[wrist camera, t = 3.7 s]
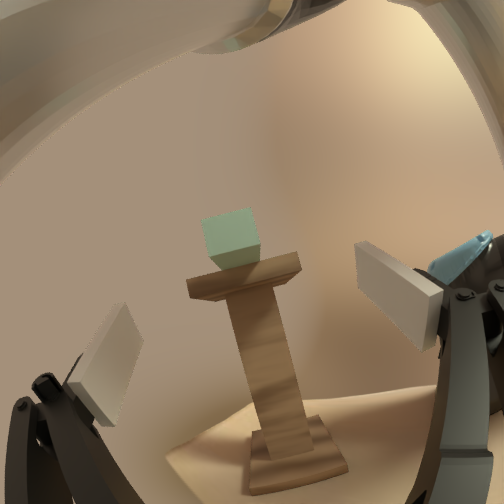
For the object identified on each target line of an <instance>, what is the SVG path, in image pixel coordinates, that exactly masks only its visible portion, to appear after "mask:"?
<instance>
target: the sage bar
mask: <svg viewBox="0 0 504 504" xmlns="http://www.w3.org/2000/svg"><path fill="white" fill-rule="evenodd" d="M201 223H202V228H203V232H204V236H205V241H206V246H207V250H208V254H209V257H210V258H211V259H212V260H213V262H215V264H216V265H217V266H218V267H219V268H220V269H221V270H226V269H230V268H234V267H238V266H242V265H246V264H250V263H254V262H258V261H260V240H259V236H258V233H257V229H256V225H255V222H254V218H253V215H252V211H251V208H246V209H242V210H238V211H234V212H230V213H226V214H222V215H218V216H215V217H211V218H207V219H203V220H201Z"/></svg>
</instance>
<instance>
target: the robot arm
mask: <svg viewBox="0 0 504 504" xmlns="http://www.w3.org/2000/svg"><path fill="white" fill-rule="evenodd" d="M344 1H346V0H0V186H1V185H2V184H3V182H5V181H6V179H7V178H8V177H9V176H10V175H11V174H12V173H13V172H14V171H15V170H16V169H17V168H18V167H19V166H20V165H21V164H22V163H23V162H24V161H25V160H26V159H27V158H28V157H29V156H30V155H31V154H32V153H33V152H35V150H37V148H39V147H40V146H41V145H42V144H43V143H44V142H46V141H47V140H48V139H49V138H50V137H52V136H53V135H54V134H55V133H56V132H57V131H59V130H60V129H61V128H63V127H64V126H65V125H66V124H68V123H69V122H70V121H72V120H73V119H74V118H75V117H77V116H78V115H80V114H81V113H82V112H84V111H85V110H86V109H88V108H89V107H91V106H92V105H94V104H95V103H97V102H98V101H99V100H101V99H103V98H104V97H106V96H107V95H109V94H110V93H112V92H114V91H115V90H117V89H118V88H120V87H122V86H123V85H125V84H127V83H129V82H130V81H132V80H134V79H135V78H137V77H139V76H141V75H143V74H145V73H147V72H149V71H150V70H152V69H154V68H156V67H158V66H160V65H162V64H164V63H167V62H169V61H171V60H173V59H175V58H177V57H180V56H182V55H184V54H187V53H189V52H195V53H201V54H223V53H229V52H233V51H237V50H241V49H243V48H246V47H248V46H251V45H253V44H255V43H258V42H260V41H263V40H265V39H267V38H269V37H271V36H274V35H276V34H278V33H280V32H283V31H285V30H287V29H290V28H292V27H294V26H296V25H299V24H301V23H303V22H305V21H307V20H310V19H312V18H314V17H316V16H318V15H320V14H322V13H324V12H326V11H328V10H330V9H332V8H334V7H336V6H338V5H339V4H341V3H342V2H344ZM387 1H389V2H393V3H397V4H401V5H404V6H408V7H411V8H413V9H414V10H416V11H417V12H418V13H419V14H420V15H421V16H422V17H423V19H424V20H425V21H426V22H427V23H428V25H429V26H430V28H431V29H432V30H433V31H434V33H435V34H436V35H437V37H438V38H439V40H440V41H441V42H442V44H443V45H444V47H445V48H446V50H447V51H448V53H449V54H450V56H451V57H452V59H453V60H454V62H455V63H456V65H457V67H458V68H459V70H460V72H461V73H462V75H463V77H464V79H465V80H466V82H467V84H468V86H469V88H470V89H471V91H472V93H473V95H474V97H475V99H476V101H477V103H478V105H479V107H480V109H481V111H482V114H483V116H484V118H485V120H486V122H487V125H488V127H489V130H490V132H491V134H492V137H493V140H494V142H495V145H496V148H497V150H498V153H499V156H500V159H501V162H502V165H503V168H504V0H387ZM492 238H493V234H492V233H491V232H490V231H489V230H486V231H485V232H483V233H481V234H480V235H478V236H476V237H475V238H473V239H471V240H469V241H468V242H466V243H464V244H463V245H461V246H459V247H457V248H455V249H454V250H452V251H450V252H448V253H446V254H445V255H443V256H441V257H439V258H437V259H435V260H434V261H432V262H431V263H430V265H429V267H428V270H427V272H425V271H423V270H420V269H416V268H415V269H411V268H410V267H408V266H406V265H405V264H403V263H401V262H400V261H398V260H397V259H395V258H394V257H392V256H390V255H389V254H387V253H385V252H384V251H382V250H381V249H379V248H377V247H376V246H374V245H372V244H370V243H369V242H367V241H364V242H360V243H356V244H354V247H355V257H356V269H357V282H358V288H359V289H360V290H361V291H362V292H363V293H364V294H365V295H366V296H367V297H368V298H369V299H370V300H371V301H372V302H373V303H374V304H375V305H376V306H377V307H378V308H379V309H380V310H381V311H382V312H383V313H384V314H385V315H386V316H387V317H388V318H389V319H390V320H391V321H392V322H393V323H394V324H395V325H396V326H397V327H398V328H399V329H400V330H401V331H402V332H403V333H404V334H405V336H406V337H408V339H409V340H410V341H411V342H412V343H413V344H414V345H415V346H416V347H417V348H418V349H419V350H420V351H421V352H424V351H426V350H428V349H430V348H432V347H433V346H435V343H436V338H437V335H439V337H440V345H441V348H440V353H439V357H438V359H440V367H439V377H438V383H437V387H436V392H435V405H434V410H433V416H432V421H431V426H430V431H429V435H428V439H427V443H426V447H425V451H424V455H423V458H422V462H421V465H420V469H419V472H418V475H417V478H416V481H415V484H414V486H413V488H412V490H411V492H410V494H409V496H408V498H407V500H406V502H405V504H486V500H487V496H488V491H489V486H490V481H491V475H492V469H493V454H492V452H490V451H488V450H487V442H488V429H489V415H490V414H493V413H495V412H497V411H498V410H500V409H502V411H503V415H504V234H503V235H501V236H499V237H496V238H494V239H492ZM142 345H143V339H142V337H141V335H140V333H139V331H138V329H137V327H136V325H135V322H134V320H133V318H132V316H131V314H130V312H129V310H128V307H127V305H126V303H125V302H124V303H119V304H115V305H114V306H113V307H112V309H111V310H110V312H109V313H108V315H107V316H106V318H105V320H104V321H103V323H102V324H101V326H100V327H99V329H98V330H97V332H96V334H95V335H94V337H93V338H92V340H91V342H90V343H89V345H88V347H87V348H86V350H85V352H84V353H83V354H82V355H81V356H79V357H78V359H77V360H76V362H75V364H74V366H73V367H72V369H71V372H69V374H68V376H67V378H66V380H65V381H64V383H63V385H62V386H61V385H60V383H59V382H58V381H57V379H56V378H55V376H54V375H53V373H50V372H49V373H45V374H42V375H40V376H39V377H38V378H37V379H36V380H35V381H34V382H33V384H32V390H33V391H34V393H35V394H36V395H37V396H38V398H39V399H40V400H41V401H42V402H41V403H38V404H35V403H34V402H33V401H32V400H31V398H30V397H27V396H26V397H23V398H20V399H19V400H17V402H16V403H15V405H14V407H13V411H12V416H11V422H10V428H9V435H8V442H7V453H6V464H5V504H73V499H74V501H75V503H76V504H145V503H144V502H143V501H142V499H140V497H139V496H138V494H137V493H136V491H135V490H134V489H133V487H132V486H131V485H130V483H129V482H128V480H127V479H126V477H125V476H124V474H123V473H122V471H121V470H120V468H119V467H118V465H117V463H116V462H115V460H114V459H113V457H112V456H111V454H110V452H109V450H108V449H107V447H106V445H105V443H104V442H103V440H102V438H101V436H100V434H99V432H98V431H97V429H96V428H95V427H94V425H93V424H92V423H93V421H94V418H95V419H96V420H97V421H98V423H99V424H100V425H101V426H109V427H115V426H116V423H117V419H118V416H119V413H120V410H121V406H122V403H123V400H124V397H125V394H126V391H127V387H128V385H129V382H130V378H131V376H132V373H133V370H134V367H135V364H136V361H137V359H138V356H139V353H140V350H141V347H142ZM36 438H37V439H38V440H39V441H40V445H39V444H38V442H37V440H36ZM72 497H73V499H72Z"/></svg>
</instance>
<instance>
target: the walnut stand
mask: <svg viewBox="0 0 504 504" xmlns="http://www.w3.org/2000/svg"><path fill="white" fill-rule="evenodd" d="M301 270H302V268H301V264H300V261H299V257H298V254H297V252H292V253H289V254H285V255H281V256H277V257H273V258H270V259H265V260H262V261H258V262H254V263H250V264H246V265H242V266H238V267H234V268H230V269H226V270H222V271H218V272H215V273H211V274H207V275H203V276H199V277H195V278H191V279H187V280H186V282H187V287H188V291H189V296H190V298H192V299H200V300H207V301H215V302H216V301H220V300H225V299H226V302H227V306H228V310H229V314H230V318H231V322H232V326H233V330H234V333H235V337H236V341H237V345H238V349H239V352H240V356H241V360H242V363H243V367H244V370H245V374H246V378H247V381H248V384H249V388H250V392H251V395H252V399H253V402H254V405H255V409H256V412H257V416H258V419H259V422H260V426H261V430H257V431H252V444H251V462H250V479H249V490H250V492H251V495H252V496H255V495H262V494H267V493H273V492H278V491H283V490H287V489H292V488H296V487H300V486H304V485H308V484H312V483H315V482H319V481H322V480H325V479H328V478H332V477H335V476H338V475H341V474H344V473H346V472H348V466H347V463H346V461H345V459H344V458H343V456H342V454H341V453H340V451H339V449H338V448H337V446H336V444H335V443H334V441H333V439H332V437H331V436H330V434H329V432H328V431H327V429H326V427H325V425H324V424H323V422H322V420H321V418H320V417H319V415H315V416H312V417H309V418H306V414H305V410H304V406H303V402H302V398H301V395H300V390H299V387H298V383H297V379H296V375H295V371H294V367H293V363H292V359H291V356H290V351H289V347H288V344H287V340H286V336H285V332H284V328H283V324H282V321H281V317H280V313H279V309H278V306H277V301H276V298H275V294H274V290H273V287H275V286H279V285H283V284H286V283H287V282H288V281H289V280H290V279H292V278H293V277H294V276H295V275H296V274H298V273H299V272H300V271H301Z"/></svg>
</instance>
